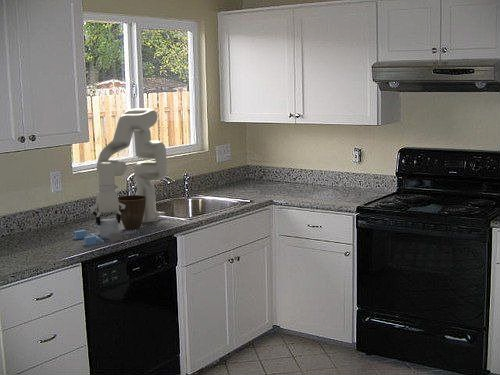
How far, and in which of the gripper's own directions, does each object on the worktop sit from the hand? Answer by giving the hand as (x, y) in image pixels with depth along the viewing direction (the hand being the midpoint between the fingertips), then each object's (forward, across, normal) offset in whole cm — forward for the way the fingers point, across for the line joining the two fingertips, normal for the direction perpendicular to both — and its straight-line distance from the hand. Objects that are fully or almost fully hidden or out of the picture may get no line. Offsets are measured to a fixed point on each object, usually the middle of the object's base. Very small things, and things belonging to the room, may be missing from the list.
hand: (108, 223), depth 336 cm
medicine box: (+7, 0, -1) cm, 7 cm away
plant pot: (+6, -17, -13) cm, 22 cm away
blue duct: (+7, +10, -1) cm, 12 cm away
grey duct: (+7, -2, -1) cm, 7 cm away
